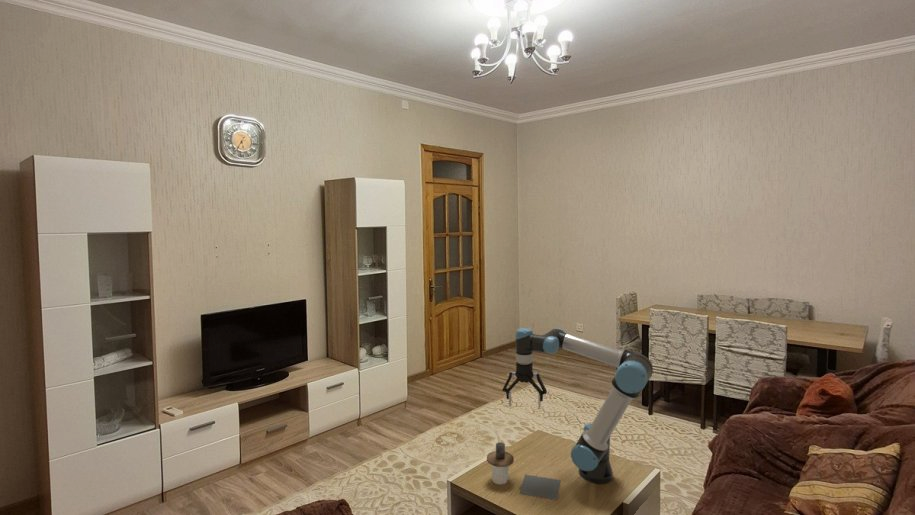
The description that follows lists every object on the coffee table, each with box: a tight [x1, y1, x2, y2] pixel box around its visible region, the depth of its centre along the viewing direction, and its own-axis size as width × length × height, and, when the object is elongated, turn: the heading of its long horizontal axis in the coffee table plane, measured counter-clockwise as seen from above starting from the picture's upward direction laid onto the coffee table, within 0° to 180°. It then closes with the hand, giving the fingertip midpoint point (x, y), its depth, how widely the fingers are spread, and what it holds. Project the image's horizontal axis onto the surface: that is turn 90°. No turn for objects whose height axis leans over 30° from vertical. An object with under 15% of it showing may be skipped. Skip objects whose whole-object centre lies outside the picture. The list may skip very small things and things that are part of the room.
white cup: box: [491, 465, 510, 485], centre depth 221 cm, size 8×8×10 cm
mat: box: [518, 474, 561, 501], centre depth 216 cm, size 16×16×1 cm
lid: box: [486, 442, 515, 467], centre depth 220 cm, size 12×12×7 cm
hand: (524, 407), depth 228 cm, fingers open, 13 cm apart
